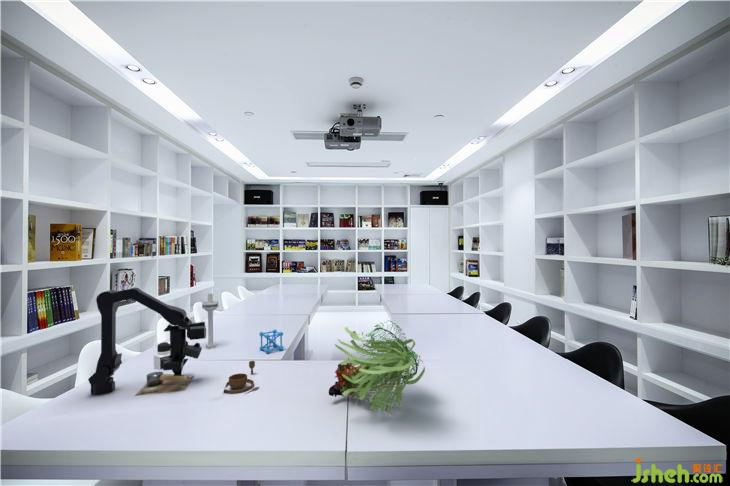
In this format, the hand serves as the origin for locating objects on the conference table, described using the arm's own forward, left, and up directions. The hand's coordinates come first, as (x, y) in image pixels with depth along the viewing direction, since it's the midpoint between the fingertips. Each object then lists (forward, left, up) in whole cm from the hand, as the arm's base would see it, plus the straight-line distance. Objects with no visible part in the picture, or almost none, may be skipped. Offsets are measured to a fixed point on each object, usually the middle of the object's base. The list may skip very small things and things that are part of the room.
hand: (178, 379), depth 140 cm
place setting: (+26, -5, -4) cm, 27 cm away
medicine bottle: (-12, +24, -3) cm, 27 cm away
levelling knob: (-4, -1, -1) cm, 4 cm away
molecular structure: (+35, +39, -3) cm, 53 cm away
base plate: (-4, -2, -3) cm, 5 cm away
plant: (+74, -34, -3) cm, 82 cm away
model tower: (+2, +55, -3) cm, 55 cm away
